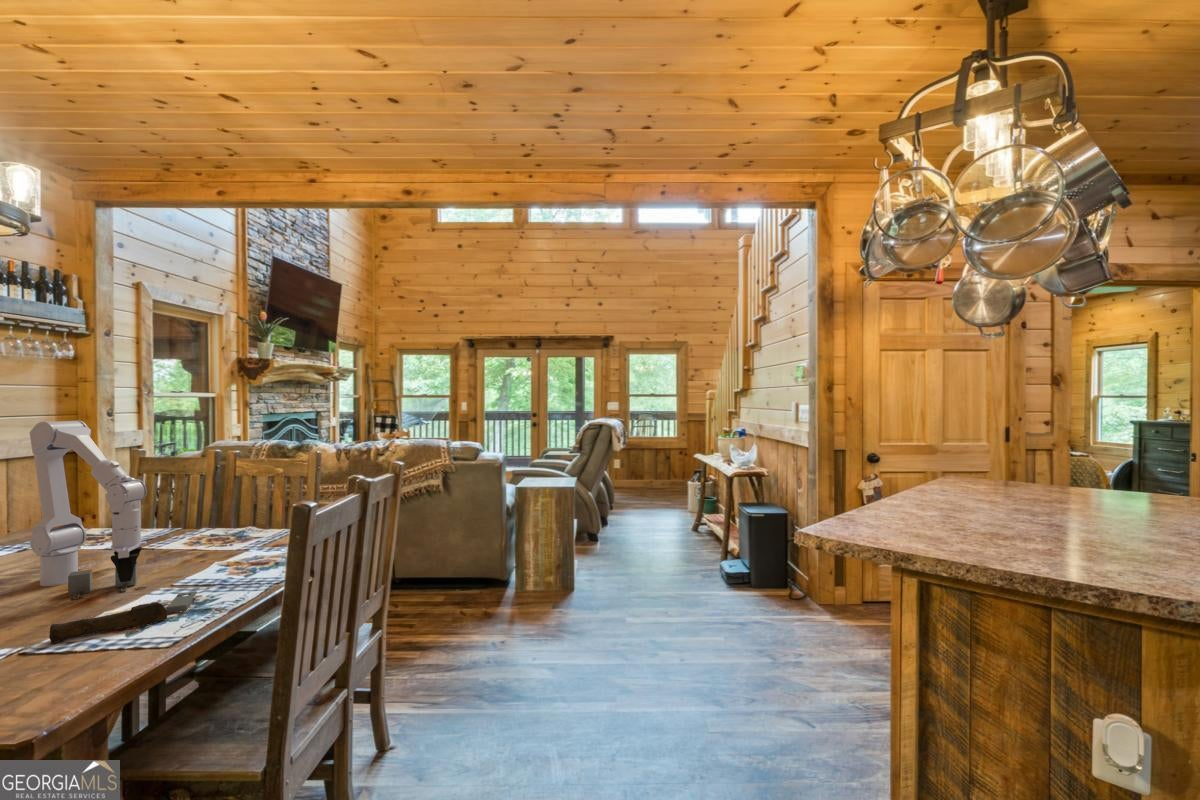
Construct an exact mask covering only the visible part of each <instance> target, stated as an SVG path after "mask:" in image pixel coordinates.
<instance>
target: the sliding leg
mask: <svg viewBox="0 0 1200 800" xmlns="http://www.w3.org/2000/svg"><path fill="white" fill-rule="evenodd" d="M114 569H115V571H114V572H115V574H114V575H115V579H114V580H115V581H114V582H115V587H114V588H121V589H120V591H121V592H126V591H127V589H128V587H129V586H135V585H137V582H138V562H137V561H136V562H135V565H134V570H133V575H132V579H131V581H127V582H120V580H119V577H118V573H117V569H116V567H115V568H114Z"/></svg>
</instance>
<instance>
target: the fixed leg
mask: <svg viewBox="0 0 1200 800" xmlns="http://www.w3.org/2000/svg"><path fill="white" fill-rule="evenodd" d="M92 589H93V569H87V570H78V571H76V572H71V573H70V574H69V576H68V583H67V597H69V596H70V597H71V596H73V597H72V598H73V599H72V600H73V601H76V600H75V599H77V600H79V599H80V598H81V595H83V594H90V593H91V592H92Z"/></svg>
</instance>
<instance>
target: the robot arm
mask: <svg viewBox="0 0 1200 800" xmlns="http://www.w3.org/2000/svg"><path fill="white" fill-rule="evenodd" d="M91 435H92V429H91V428H89V426H88V425H87V424H86V423H85V422H84V421H82V420H79V419H78V420H77V419H76V420H75V419H74V420H63V421H59V420H58V421H39V422H38V423H36V424H35V425H34V426H33V427H32V428H31V430H30V431H29V437H30V438H29V439H30V444H31V451H32V454H33V459H34V465H35V473H36V481H37V486H38V487H37V488H38V493H39V502H40V509H41V514H42V518H41V520H39V522H37V523H36V524H34V526H33V527H31V538H30V541H29V546H30V548H31V551H32V552H33V553H34V554H36V556H37V557H39V586H40V587H53V586H61V585H65V584H68V576H69V574H70V573H71V572H76V571H79V554H78V552H79V550H81V548H82V547H81V546H83V544H85V542H86V539H87V531H86V529H85V527H84V526H83V522H82V518H80V517H78V516H76V515H74V514H72V513H71V507H70V500H69V494H68V486H67V480H66V473H65V465H64V456H65V455H66V454H67V453H68V452H70V451H71V450H72V451H73V452H75V453H76V454H77V455H78V456H79V457H80V458H81V459H82V460H84V461H85V462H86V463H87V465H89V466H90V467H91V472H90V474H91V476H92V478H94V479H95V481H97V483H98V484H99V485H100V486H101V487H102V488H103V489H104V490H105V491H106V493H105V496H104V497H105V500H106V502H107V503H108V506H109V510H110V513H112V514H111V520H112V521H111V523H112V524H111V530H112V531H111V541H112V542H111V547H110V548H111V550H112V551H113V555H111V556H110V560H111V563H113V566H115V568H116V569H117V573H118V577H119V580H120V582H127V581H131V579H132V575H133V570H134V565H135V562H137V560H138V558H139V556H140V553H141V551H142V548H143V546H146V545H147V541H146V540H144V541H142V540H141V539H142V537H141V536H142V535H141V534H142V532H141V531H142V530H141V529H142V521H141V520H142V515H141V512H142V511H141V509H142V508H141V507H142V506H141V505H142V504H141V502H142V501H143V500H144V499H145V498H146V496H147V492H148V491H147V490H148V489H147V487H146V484H145V483H144V481H142V480H141V479H136V478H134V477H131V476H130V475H129V473H127V472H126V471H125V470H124V469H123V467H122V466H121V464H120V463H119V461H116V460H111V459H107V458H106V456H105V455H104V453H103V452H102V451H101V450H100V448H99V447H98V446H97V444H96V443H95V442H94V440H93V439H92V438H91ZM60 526H61V527H60Z"/></svg>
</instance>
